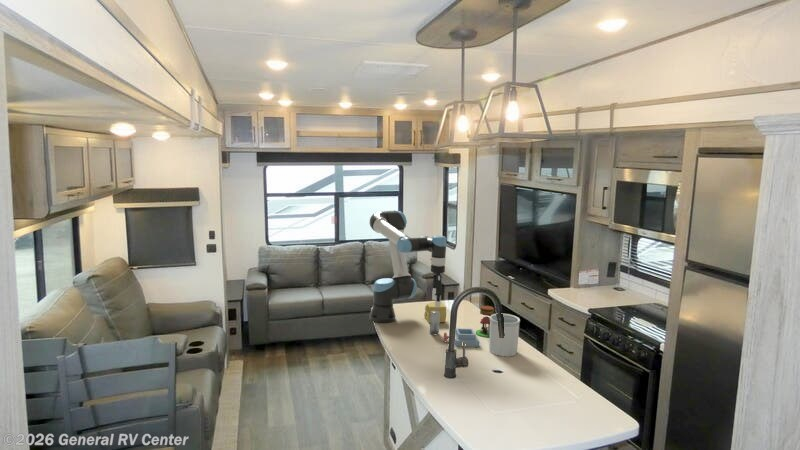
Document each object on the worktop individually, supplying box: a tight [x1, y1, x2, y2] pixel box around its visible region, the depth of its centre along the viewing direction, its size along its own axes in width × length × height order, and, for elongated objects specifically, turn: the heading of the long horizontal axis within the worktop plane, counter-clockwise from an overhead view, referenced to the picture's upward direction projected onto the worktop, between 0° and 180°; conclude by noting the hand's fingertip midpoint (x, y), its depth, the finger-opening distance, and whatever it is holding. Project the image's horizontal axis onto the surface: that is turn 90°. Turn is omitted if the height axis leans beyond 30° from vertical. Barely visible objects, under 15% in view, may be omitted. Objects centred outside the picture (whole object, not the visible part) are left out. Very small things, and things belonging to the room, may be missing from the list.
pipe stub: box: [429, 311, 440, 335], centre depth 267 cm, size 5×5×12 cm
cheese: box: [423, 301, 447, 324], centre depth 290 cm, size 10×11×10 cm
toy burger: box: [475, 305, 495, 338], centre depth 270 cm, size 12×13×15 cm
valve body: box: [443, 327, 480, 348], centre depth 258 cm, size 14×17×6 cm
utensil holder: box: [488, 313, 521, 358], centre depth 246 cm, size 15×15×18 cm
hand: (436, 303), depth 266 cm, fingers open, 13 cm apart
